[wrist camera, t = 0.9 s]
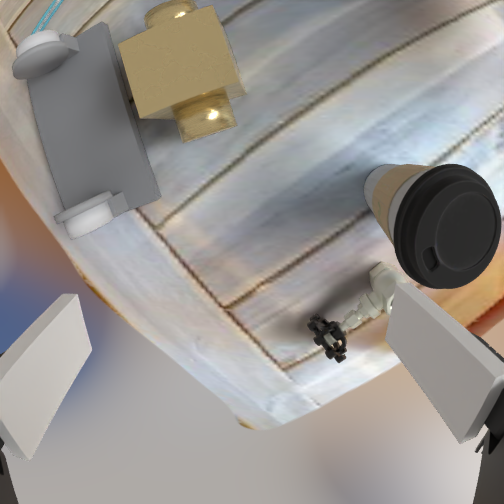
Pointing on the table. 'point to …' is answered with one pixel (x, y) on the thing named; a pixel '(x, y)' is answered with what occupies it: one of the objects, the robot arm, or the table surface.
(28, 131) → the table surface
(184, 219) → the table surface
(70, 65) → the pipe run plate
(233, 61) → the brass gate valve
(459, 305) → the table surface
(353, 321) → the valve
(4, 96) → the table surface
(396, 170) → the coffee cup
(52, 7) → the adjustable wrench
